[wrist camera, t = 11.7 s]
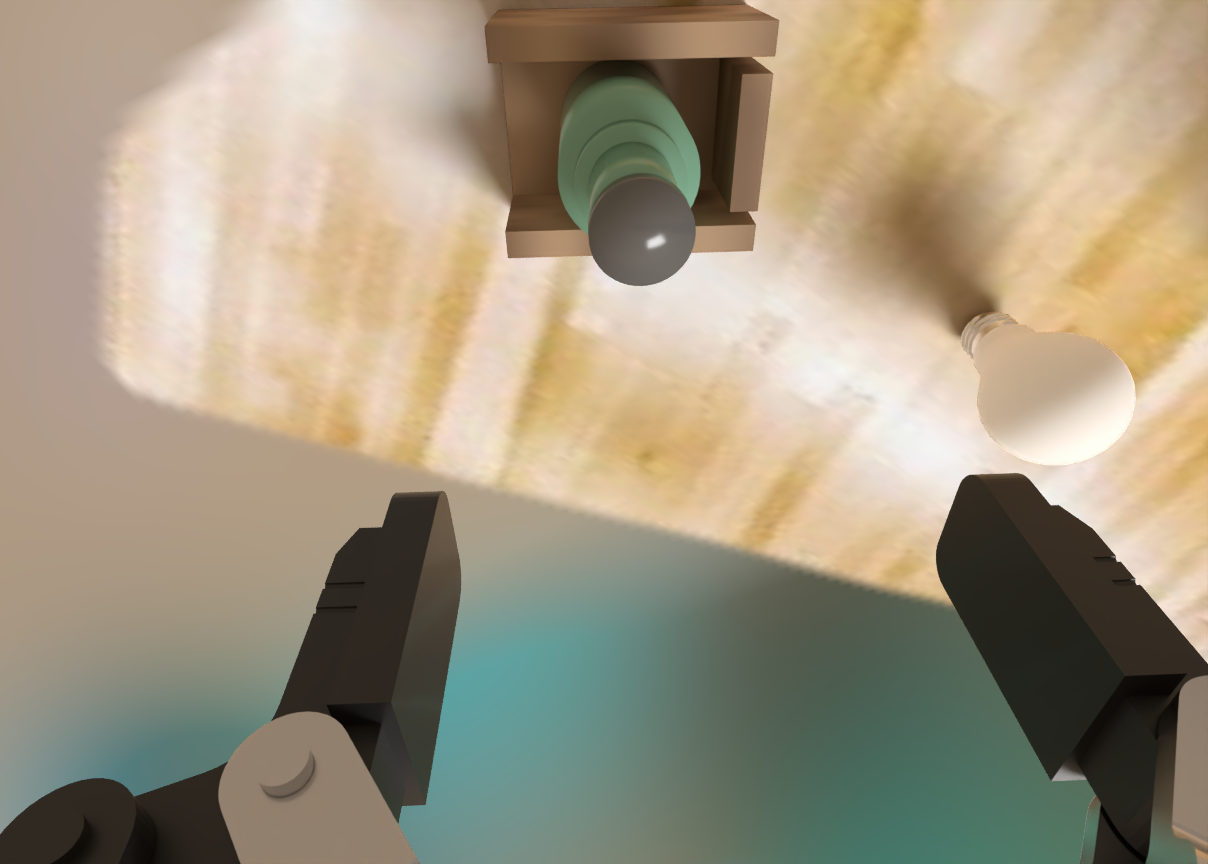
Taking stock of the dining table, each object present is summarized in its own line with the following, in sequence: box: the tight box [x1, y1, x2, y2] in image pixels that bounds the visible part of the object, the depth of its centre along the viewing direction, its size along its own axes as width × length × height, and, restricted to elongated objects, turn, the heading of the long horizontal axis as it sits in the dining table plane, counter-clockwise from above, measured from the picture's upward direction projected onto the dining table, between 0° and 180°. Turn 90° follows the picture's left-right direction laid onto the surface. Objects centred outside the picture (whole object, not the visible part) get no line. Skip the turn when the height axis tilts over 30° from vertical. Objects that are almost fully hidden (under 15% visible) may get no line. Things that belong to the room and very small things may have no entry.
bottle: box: [558, 60, 700, 286], centre depth 27 cm, size 5×5×15 cm
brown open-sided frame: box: [485, 5, 779, 258], centre depth 31 cm, size 11×9×6 cm
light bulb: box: [961, 311, 1136, 465], centre depth 37 cm, size 7×7×11 cm
